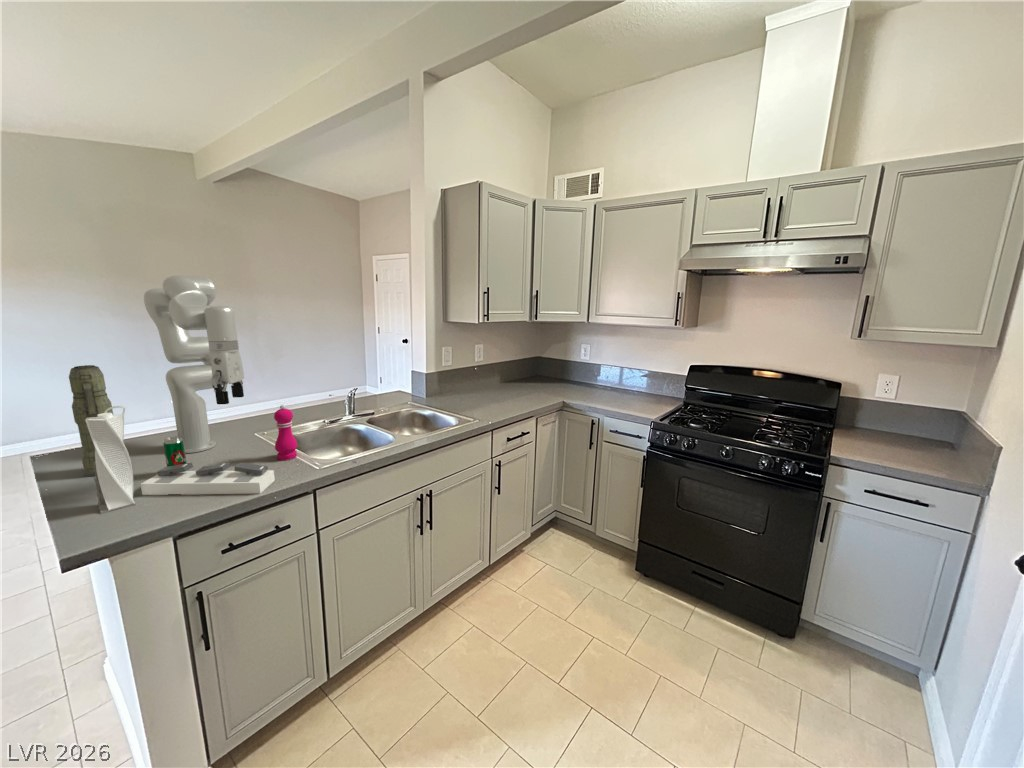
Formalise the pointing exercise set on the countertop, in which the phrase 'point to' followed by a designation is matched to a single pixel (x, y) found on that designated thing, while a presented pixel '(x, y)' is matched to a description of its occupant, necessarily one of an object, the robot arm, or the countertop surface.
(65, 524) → the countertop surface
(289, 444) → the pepper mill
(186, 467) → the rocker
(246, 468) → the block
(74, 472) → the countertop surface
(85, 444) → the olive piece
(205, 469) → the middle rocker
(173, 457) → the soda can
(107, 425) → the skyscraper
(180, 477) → the power strip
